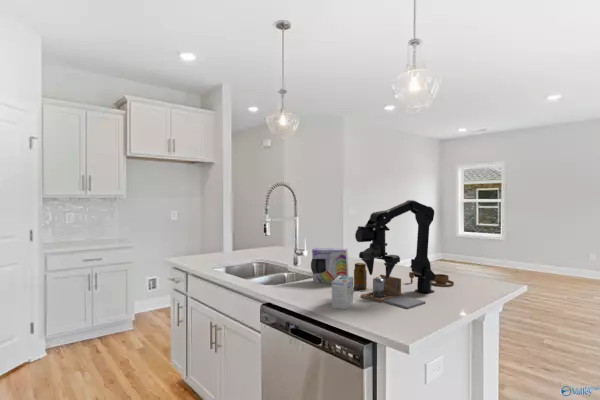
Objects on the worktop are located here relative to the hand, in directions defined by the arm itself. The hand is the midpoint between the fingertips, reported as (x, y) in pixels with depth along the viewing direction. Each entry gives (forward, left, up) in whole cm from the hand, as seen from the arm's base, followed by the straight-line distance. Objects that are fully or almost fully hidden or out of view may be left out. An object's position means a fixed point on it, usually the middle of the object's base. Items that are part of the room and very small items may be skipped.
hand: (378, 276), depth 160 cm
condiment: (-5, -15, -10) cm, 18 cm away
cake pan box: (-2, -34, -9) cm, 35 cm away
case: (-1, 0, -9) cm, 9 cm away
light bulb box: (+20, -2, -10) cm, 22 cm away
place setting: (-42, 0, -10) cm, 44 cm away
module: (0, 0, -9) cm, 9 cm away
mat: (-2, +12, -9) cm, 15 cm away
